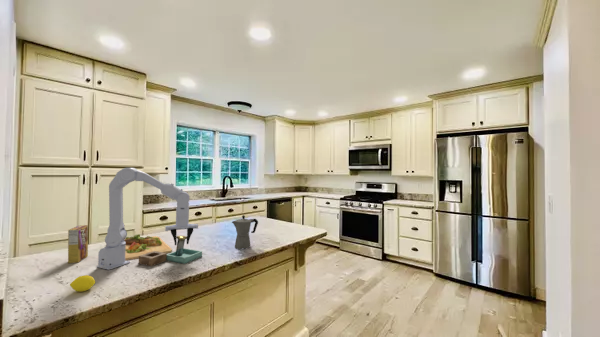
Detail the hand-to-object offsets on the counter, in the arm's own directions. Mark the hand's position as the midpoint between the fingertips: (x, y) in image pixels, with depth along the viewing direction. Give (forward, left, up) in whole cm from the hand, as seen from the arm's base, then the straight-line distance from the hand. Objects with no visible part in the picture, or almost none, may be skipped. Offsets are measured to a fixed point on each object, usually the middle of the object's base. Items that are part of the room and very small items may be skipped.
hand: (181, 244), depth 126 cm
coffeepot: (+30, -17, -7) cm, 35 cm away
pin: (-1, +1, -5) cm, 5 cm away
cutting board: (+4, +32, -8) cm, 33 cm away
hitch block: (-9, +8, -7) cm, 14 cm away
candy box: (-21, +41, -7) cm, 47 cm away
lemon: (-39, +6, -7) cm, 40 cm away
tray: (+1, -1, -7) cm, 7 cm away
